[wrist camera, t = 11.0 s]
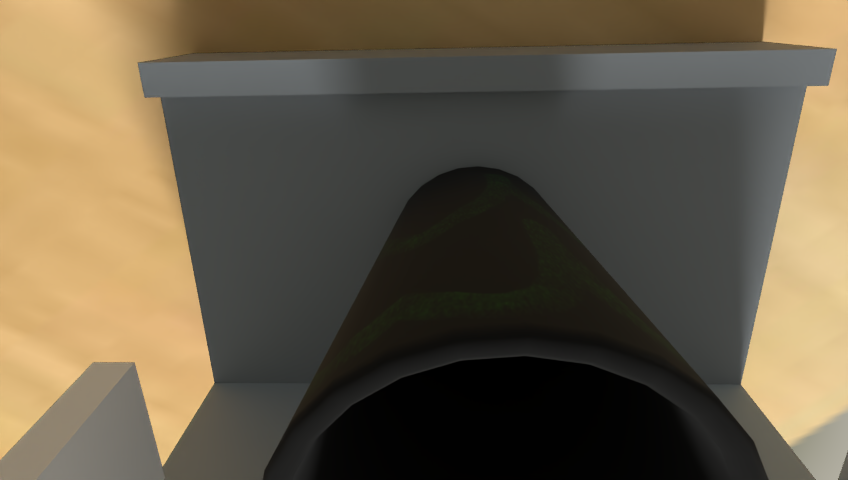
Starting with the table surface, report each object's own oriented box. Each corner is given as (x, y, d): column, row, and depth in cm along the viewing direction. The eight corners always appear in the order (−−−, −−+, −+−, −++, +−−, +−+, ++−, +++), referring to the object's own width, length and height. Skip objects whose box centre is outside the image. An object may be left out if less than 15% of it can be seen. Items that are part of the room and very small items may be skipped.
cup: (620, 291, 20) (832, 643, 9) (426, 369, 22) (404, 752, 11) (533, 91, 18) (678, 236, 7) (322, 196, 19) (149, 458, 8)
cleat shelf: (193, 53, 20) (-242, 127, 8) (763, 41, 20) (1376, 102, 7) (245, 370, 26) (38, 743, 13) (700, 371, 25) (983, 770, 12)
